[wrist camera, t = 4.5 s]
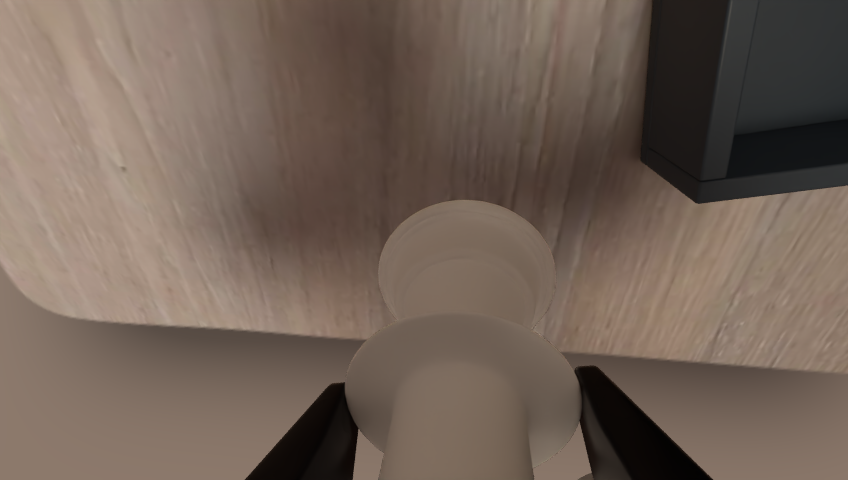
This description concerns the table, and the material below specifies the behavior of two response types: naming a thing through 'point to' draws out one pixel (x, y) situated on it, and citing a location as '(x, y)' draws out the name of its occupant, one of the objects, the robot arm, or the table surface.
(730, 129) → the bin
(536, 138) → the table surface
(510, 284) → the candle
